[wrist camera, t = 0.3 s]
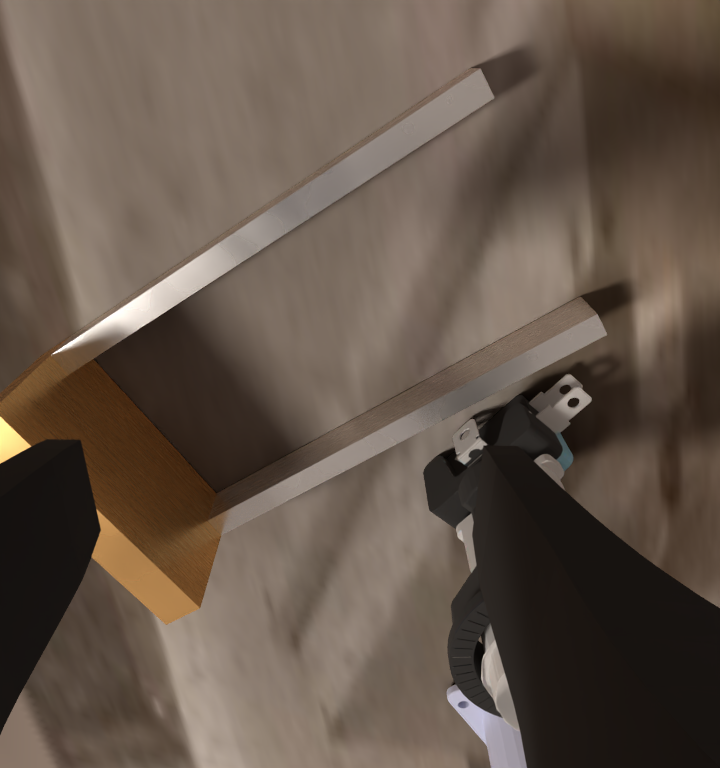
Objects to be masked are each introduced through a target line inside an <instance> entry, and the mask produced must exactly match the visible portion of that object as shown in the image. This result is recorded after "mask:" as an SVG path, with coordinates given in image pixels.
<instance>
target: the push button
mask: <svg viewBox="0 0 720 768" xmlns="http://www.w3.org/2000/svg"><path fill="white" fill-rule="evenodd" d="M563 385H569V386H570V387H571V390H570V391H569V392H568V393H567V394H561V393H560V392H559V390H560V388H561V387H562V386H563ZM582 387H583V385H582V384H581V383H580V382H579V381H578V380H576V379H575V378H574V377H573V376H572V375H571V374H566V375H565V376H564V377H563V378H562V379H561V380H559V381H558V382H557V383H556V384H555V385H554V386H553V387H551V388H550V389H549V390H548V391H547V392H546V393H545V394H544V393H543V392H540V393H539V394H538V395H537V396H536V397H534V398H533V399H532V400H531V401H530V402H529V401H528V400H527V399H526V398H525V397H523V396H522V395H518V396H516V397H515V398H514V399H513V400H511V401H510V402H509V403H508V404H507V405H506V406H505V407H504V408H503V409H502V410H500V411H499V412H498V413H497V414H496V415H495V416H494V417H493V418H492V419H490V420H489V421H488V422H487V423H486V424H485V425H484V426H483V427H482V428H480V429H478V426H477V423H476V420H475V419H470V420H469V421H468V422H467V423H465V424H464V425H463V426H462V427H461V428H460V429H459V430H458V431H457V432H456V433H455V434H454V436H453V438H452V439H453V443H454V447H455V452H454V453H453V454H452V455H451V456H449V457H448V458H447V459H445V458H444V457H442V456H437V457H435V458H434V459H433V460H432V461H431V462H430V463H429V464H428V465H427V466H426V467H425V469H424V473H423V474H424V480H425V487H426V493H427V499H428V506H429V510H430V511H431V512H432V513H434V514H435V515H436V516H438V517H439V518H441V519H442V520H444V521H445V522H446V523H448V524H449V525H451V526H452V527H454V528H455V529H456V531H457V535H458V538H459V539H460V540H462V541H463V542H464V544H465V549H466V553H467V558H468V562H469V567H470V571H471V574H470V576H469V577H468V579H467V580H466V582H465V583H464V585H463V586H462V588H461V589H460V591H459V592H458V594H457V595H456V597H455V598H454V600H453V601H452V604H451V611H452V622H453V625H452V628H451V630H450V634H449V638H448V658H449V665H450V670H451V674H452V677H453V679H454V682H455V683H456V685H457V687H458V688H459V690H460V691H461V692H462V693H463V695H464V696H465V697H466V698H467V699H468V700H469V701H471V702H472V703H473V704H475V705H476V706H477V707H479V708H481V709H482V710H484V711H486V712H488V713H490V714H493V715H495V716H498V717H501V718H503V719H504V721H505V722H506V723H507V724H509V725H511V726H512V727H513V728H514V729H515V730H517V731H520V729H519V724H518V720H517V716H516V712H515V708H514V704H513V700H512V697H511V693H510V690H509V686H508V683H507V679H506V676H505V672H504V669H503V665H502V662H501V658H500V655H499V651H498V648H497V645H496V641H495V638H494V634H493V631H492V627H491V624H490V620H489V617H488V613H487V609H486V606H485V602H484V599H483V595H482V591H481V588H480V584H479V577H478V571H477V565H476V559H475V552H474V545H473V538H472V531H473V524H474V516H475V508H476V500H477V492H478V484H479V476H480V469H481V461H482V453H483V445H490V446H518V447H519V448H520V449H522V450H523V451H524V452H525V453H526V454H527V455H528V456H529V457H530V458H531V459H532V460H533V461H534V462H535V463H536V464H537V465H538V466H539V467H541V468H542V469H543V470H544V471H545V472H546V473H547V474H548V475H549V476H550V477H551V478H552V479H553V480H554V481H555V482H556V483H557V484H558V485H559V486H560V487H561V488H563V489H564V487H563V485H562V483H561V481H560V479H561V478H562V477H563V476H564V471H565V470H566V469H567V468H568V467H569V466H570V465H571V464H572V462H573V455H572V453H571V451H570V449H569V448H568V446H567V444H566V442H565V441H564V439H563V437H562V435H561V432H562V431H563V430H564V429H565V428H567V427H568V426H569V425H570V424H571V423H570V422H569V420H570V419H571V418H572V417H574V416H575V415H576V414H577V413H578V412H580V411H581V410H582V409H583V408H584V407H585V406H587V405H588V404H589V403H590V402H591V400H592V398H591V397H590V396H589V395H588V394H587V393H586V392H584V391H583V390H582ZM571 398H578V399H579V404H578V405H577V406H576V407H569V406H568V405H567V403H568V401H569V400H570V399H571ZM467 430H470V432H469V435H468V436H467V437H466V438H465V439H464V440H461V437H462V435H463V433H464V432H465V431H467ZM564 490H565V489H564ZM480 636H481V638H482V643H483V644H481V643H480V642H479V641H478V639H479V637H480Z"/></svg>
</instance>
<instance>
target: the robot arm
mask: <svg viewBox="0 0 720 768" xmlns="http://www.w3.org/2000/svg"><path fill="white" fill-rule="evenodd" d="M100 531H101V528H100V523H99V519H98V514H97V510H96V505H95V501H94V497H93V492H92V488H91V483H90V479H89V474H88V470H87V465H86V461H85V457H84V452H83V448H82V443H81V440H65V439H46V440H44V441H42V442H40V443H37V444H35V445H33V446H31V447H29V448H27V449H26V450H24V451H22V452H20V453H18V454H16V455H15V456H13V457H11V458H9V459H8V460H6V461H4V462H2V463H1V464H0V734H1V732H2V730H3V727H4V725H5V723H6V721H7V718H8V717H9V715H10V713H11V711H12V709H13V707H14V705H15V703H16V701H17V699H18V697H19V695H20V693H21V691H22V690H23V688H24V686H25V684H26V682H27V680H28V679H29V677H30V675H31V673H32V671H33V670H34V668H35V666H36V664H37V662H38V660H39V659H40V657H41V655H42V653H43V651H44V650H45V648H46V646H47V644H48V642H49V641H50V639H51V637H52V635H53V633H54V631H55V630H56V628H57V626H58V624H59V622H60V621H61V619H62V617H63V615H64V613H65V611H66V609H67V608H68V606H69V604H70V602H71V600H72V598H73V597H74V595H75V593H76V591H77V589H78V587H79V585H80V583H81V581H82V579H83V577H84V574H85V572H86V569H87V567H88V564H89V562H90V559H91V556H92V554H93V551H94V548H95V545H96V542H97V540H98V537H99V534H100ZM472 538H473V545H474V552H475V559H476V565H477V571H478V577H479V584H480V588H481V591H482V595H483V599H484V602H485V606H486V609H487V613H488V617H489V620H490V624H491V627H492V631H493V634H494V638H495V641H496V645H497V648H498V651H499V655H500V658H501V662H502V665H503V669H504V672H505V676H506V679H507V683H508V686H509V690H510V693H511V697H512V700H513V704H514V708H515V712H516V716H517V720H518V724H519V729H520V731H517V730H515V729H514V728H513V727H512V726H511V725H509V724H507V723H506V722H505V721H504V719H503V718H501V717H498V716H495V715H493V714H490V713H488V712H486V711H484V710H482V709H481V708H479V707H477V706H476V705H475V704H473V703H472V702H471V701H469V700H468V699H467V698H466V697H465V696H464V695H463V693H462V692H461V691H460V690H459V688H458V687H457V685H453V686H451V687H450V688H449V689H448V690H447V699H448V701H449V702H450V704H451V705H452V706H453V707H454V708H455V709H456V711H457V712H458V713H459V714H460V715H461V716H462V717H463V719H464V720H465V721H466V722H467V723H468V724H469V726H470V727H471V728H472V729H473V730H474V731H475V732H476V734H477V735H478V736H479V737H480V738H481V739H482V741H483V742H484V743H485V744H486V745H487V748H488V753H489V759H490V764H491V768H720V608H718V607H717V606H715V605H714V604H712V603H710V602H709V601H707V600H706V599H704V598H702V597H701V596H699V595H698V594H696V593H695V592H693V591H692V590H690V589H689V588H687V587H686V586H684V585H683V584H681V583H680V582H679V581H677V580H676V579H674V578H673V577H671V576H670V575H668V574H667V573H665V572H664V571H662V570H661V569H660V568H658V567H657V566H655V565H654V564H653V563H651V562H650V561H649V560H647V559H646V558H644V557H643V556H642V555H640V554H639V553H638V552H636V551H635V550H634V549H633V548H631V547H630V546H629V545H628V544H626V543H625V542H624V541H623V540H621V539H620V538H619V537H618V536H616V535H615V534H614V533H613V532H611V531H610V530H609V529H608V528H607V527H605V526H604V525H603V524H602V523H601V522H599V521H598V520H597V519H596V518H595V517H594V516H592V515H591V514H590V513H589V512H588V511H587V510H586V509H584V508H583V507H582V506H581V505H580V504H579V503H578V502H577V501H576V500H574V499H573V498H572V497H571V496H570V495H569V494H568V493H567V492H566V491H565V490H564V489H563V488H561V487H560V486H559V485H558V484H557V483H556V482H555V481H554V480H553V479H552V478H551V477H550V476H549V475H548V474H547V473H546V472H545V471H544V470H543V469H542V468H541V467H539V466H538V465H537V464H536V463H535V462H534V461H533V460H532V459H531V458H530V457H529V456H528V455H527V454H526V453H525V452H524V451H523V450H522V449H520V448H519V447H518V446H490V445H483V453H482V461H481V469H480V476H479V484H478V492H477V500H476V508H475V516H474V524H473V531H472Z"/></svg>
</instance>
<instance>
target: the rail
mask: <svg viewBox="0 0 720 768" xmlns="http://www.w3.org/2000/svg"><path fill="white" fill-rule="evenodd" d="M492 99H494V96H493V94H492V92H491V89H490V87H489V85H488V83H487V81H486V79H485V77H484V75H483V73H482V71H481V68H470V69H468V70H467V71H465V72H464V73H462V74H461V75H459V76H458V77H456V78H455V79H453V80H452V81H450V82H449V83H447V84H446V85H444V86H443V87H441V88H440V89H438V90H437V91H435V92H434V93H432V94H431V95H429V96H428V97H426V98H425V99H423V100H422V101H420V102H419V103H417V104H416V105H414V106H413V107H411V108H410V109H408V110H407V111H405V112H404V113H402V114H401V115H399V116H398V117H396V118H395V119H393V120H392V121H390V122H389V123H388V124H386V125H385V126H383V127H382V128H380V129H379V130H377V131H376V132H374V133H373V134H371V135H370V136H368V137H367V138H365V139H364V140H362V141H361V142H359V143H358V144H356V145H355V146H353V147H352V148H350V149H349V150H347V151H346V152H344V153H343V154H341V155H340V156H338V157H337V158H335V159H334V160H332V161H331V162H329V163H328V164H326V165H325V166H323V167H322V168H320V169H319V170H317V171H316V172H314V173H313V174H311V175H310V176H308V177H307V178H305V179H304V180H302V181H301V182H300V183H298V184H297V185H295V186H294V187H292V188H291V189H289V190H288V191H286V192H285V193H283V194H282V195H280V196H279V197H277V198H276V199H274V200H273V201H271V202H270V203H268V204H267V205H265V206H264V207H262V208H261V209H259V210H258V211H256V212H255V213H253V214H252V215H250V216H249V217H247V218H246V219H244V220H243V221H241V222H240V223H238V224H237V225H235V226H234V227H232V228H231V229H229V230H228V231H226V232H225V233H223V234H222V235H220V236H219V237H217V238H216V239H214V240H213V241H211V242H210V243H209V244H207V245H206V246H204V247H203V248H201V249H200V250H198V251H197V252H195V253H194V254H192V255H191V256H189V257H188V258H186V259H185V260H183V261H182V262H180V263H179V264H177V265H176V266H174V267H173V268H171V269H170V270H168V271H167V272H165V273H164V274H162V275H161V276H159V277H158V278H156V279H155V280H153V281H152V282H150V283H149V284H147V285H146V286H144V287H143V288H141V289H140V290H138V291H137V292H135V293H134V294H132V295H131V296H129V297H128V298H126V299H125V300H123V301H122V302H120V303H119V304H118V305H116V306H115V307H113V308H112V309H110V310H109V311H107V312H106V313H104V314H103V315H101V316H100V317H98V318H97V319H95V320H94V321H92V322H91V323H89V324H88V325H86V326H85V327H83V328H82V329H80V330H79V331H77V332H76V333H74V334H73V335H71V336H70V337H68V338H67V339H65V340H64V341H62V342H61V343H59V344H58V345H56V346H55V347H53V348H52V349H50V350H49V351H47V352H46V353H44V354H43V355H41V356H40V357H39V358H38V359H37V360H36V361H35V362H34V363H33V364H32V365H31V366H30V367H28V368H27V369H26V370H25V371H24V372H23V373H22V374H21V375H20V376H19V377H18V378H16V379H15V380H14V381H13V382H12V383H11V384H10V385H9V386H8V387H7V388H6V389H4V390H3V391H2V392H1V393H0V464H1V463H2V462H4V461H6V460H8V459H9V458H11V457H13V456H15V455H16V454H18V453H20V452H22V451H24V450H26V449H27V448H29V447H31V446H33V445H35V444H37V443H40V442H42V441H44V440H46V439H65V440H81V443H82V448H83V452H84V457H85V461H86V465H87V470H88V474H89V479H90V483H91V488H92V492H93V497H94V501H95V505H96V510H97V514H98V519H99V523H100V528H101V531H100V534H99V537H98V540H97V542H96V545H95V548H94V551H93V554H92V556H91V557H92V558H93V559H94V560H96V561H97V562H98V563H99V564H100V565H101V566H102V567H103V568H104V569H105V570H107V571H108V572H109V573H110V574H111V575H112V576H113V577H114V578H115V579H116V580H118V581H119V582H120V583H121V584H122V585H123V586H124V587H125V588H126V589H127V590H129V591H130V592H131V593H132V594H133V595H134V596H135V597H136V598H137V599H138V600H140V601H141V602H142V603H143V604H144V605H145V606H146V607H147V608H148V609H149V610H151V611H152V612H153V613H154V614H155V615H156V616H157V617H158V618H159V619H160V620H161V621H163V622H164V623H165V624H166V625H167V624H169V623H171V622H173V621H175V620H177V619H179V618H181V617H183V616H185V615H187V614H189V613H191V612H193V611H195V610H197V609H199V608H200V607H201V603H202V600H203V596H204V593H205V589H206V586H207V583H208V579H209V576H210V572H211V569H212V565H213V562H214V558H215V555H216V552H217V548H218V545H219V541H220V538H221V535H223V534H225V533H227V532H229V531H231V530H232V529H234V528H236V527H238V526H240V525H242V524H244V523H246V522H248V521H250V520H252V519H254V518H256V517H257V516H259V515H261V514H263V513H265V512H267V511H269V510H271V509H273V508H275V507H277V506H279V505H281V504H282V503H284V502H286V501H288V500H290V499H292V498H294V497H296V496H298V495H300V494H302V493H304V492H306V491H307V490H309V489H311V488H313V487H315V486H317V485H319V484H321V483H323V482H325V481H327V480H329V479H331V478H332V477H334V476H336V475H338V474H340V473H342V472H344V471H346V470H348V469H350V468H352V467H354V466H356V465H357V464H359V463H361V462H363V461H365V460H367V459H369V458H371V457H373V456H375V455H377V454H379V453H381V452H383V451H384V450H386V449H388V448H390V447H392V446H394V445H396V444H398V443H400V442H402V441H404V440H406V439H408V438H409V437H411V436H413V435H415V434H417V433H419V432H421V431H423V430H425V429H427V428H429V427H431V426H433V425H434V424H436V423H438V422H440V421H442V420H444V419H446V418H448V417H450V416H452V415H454V414H456V413H458V412H459V411H461V410H463V409H465V408H467V407H469V406H471V405H473V404H475V403H477V402H479V401H481V400H483V399H484V398H486V397H488V396H490V395H492V394H494V393H496V392H498V391H500V390H502V389H504V388H506V387H508V386H509V385H511V384H513V383H515V382H517V381H519V380H521V379H523V378H525V377H527V376H529V375H531V374H533V373H534V372H536V371H538V370H540V369H542V368H544V367H546V366H548V365H550V364H552V363H554V362H556V361H558V360H559V359H561V358H563V357H565V356H567V355H569V354H571V353H573V352H575V351H577V350H579V349H581V348H583V347H584V346H586V345H588V344H590V343H592V342H594V341H596V340H598V339H600V338H602V337H604V336H606V335H607V333H606V331H605V329H604V327H603V325H602V323H601V320H600V318H599V316H598V314H597V313H596V312H595V311H594V310H593V309H592V308H591V307H590V306H589V305H588V304H587V303H586V302H585V301H584V299H583V298H582V297H581V296H580V297H578V298H576V299H574V300H573V301H571V302H569V303H567V304H565V305H563V306H561V307H560V308H558V309H556V310H554V311H552V312H550V313H549V314H547V315H545V316H543V317H541V318H539V319H538V320H536V321H534V322H532V323H530V324H528V325H526V326H525V327H523V328H521V329H519V330H517V331H515V332H514V333H512V334H510V335H508V336H506V337H504V338H502V339H501V340H499V341H497V342H495V343H493V344H491V345H490V346H488V347H486V348H484V349H482V350H480V351H478V352H477V353H475V354H473V355H471V356H469V357H467V358H466V359H464V360H462V361H460V362H458V363H456V364H455V365H453V366H451V367H449V368H447V369H445V370H443V371H442V372H440V373H438V374H436V375H434V376H432V377H431V378H429V379H427V380H425V381H423V382H421V383H419V384H418V385H416V386H414V387H412V388H410V389H408V390H407V391H405V392H403V393H401V394H399V395H397V396H395V397H394V398H392V399H390V400H388V401H386V402H384V403H383V404H381V405H379V406H377V407H375V408H373V409H372V410H370V411H368V412H366V413H364V414H362V415H360V416H359V417H357V418H355V419H353V420H351V421H349V422H348V423H346V424H344V425H342V426H340V427H338V428H336V429H335V430H333V431H331V432H329V433H327V434H325V435H324V436H322V437H320V438H318V439H316V440H314V441H312V442H311V443H309V444H307V445H305V446H303V447H301V448H300V449H298V450H296V451H294V452H292V453H290V454H289V455H287V456H285V457H283V458H281V459H279V460H277V461H276V462H274V463H272V464H270V465H268V466H266V467H265V468H263V469H261V470H259V471H257V472H255V473H253V474H252V475H250V476H248V477H246V478H244V479H242V480H241V481H239V482H237V483H235V484H233V485H231V486H229V487H228V488H226V489H224V490H222V491H220V492H218V493H216V492H215V491H214V490H213V489H212V488H211V487H210V486H209V485H208V484H207V483H206V481H205V480H204V479H203V478H202V477H201V476H200V475H199V474H198V473H197V472H196V471H195V469H194V468H193V467H192V466H191V465H190V464H189V463H188V462H187V461H186V460H185V459H184V457H183V456H182V455H181V454H180V453H179V452H178V451H177V450H176V449H175V448H174V447H173V445H172V444H171V443H170V442H169V441H168V440H167V439H166V438H165V437H164V436H163V435H162V433H161V432H160V431H159V430H158V429H157V428H156V427H155V426H154V425H153V424H152V422H151V421H150V420H149V419H148V418H147V417H146V416H145V415H144V414H143V413H142V412H141V410H140V409H139V408H138V407H137V406H136V405H135V404H134V403H133V402H132V401H131V400H130V398H129V397H128V396H127V395H126V394H125V393H124V392H123V391H122V390H121V389H120V388H119V386H118V385H117V384H116V383H115V382H114V381H113V380H112V379H111V378H110V377H109V376H108V374H107V373H106V372H105V371H104V370H103V369H102V368H101V367H100V366H99V365H98V364H97V362H96V361H95V360H94V358H95V357H97V356H98V355H100V354H101V353H103V352H105V351H106V350H108V349H109V348H111V347H112V346H114V345H115V344H117V343H118V342H120V341H121V340H123V339H125V338H126V337H128V336H129V335H131V334H132V333H134V332H135V331H137V330H138V329H140V328H141V327H143V326H145V325H146V324H148V323H149V322H151V321H152V320H154V319H155V318H157V317H158V316H160V315H161V314H163V313H165V312H166V311H168V310H169V309H171V308H172V307H174V306H175V305H177V304H178V303H180V302H181V301H183V300H185V299H186V298H188V297H189V296H191V295H192V294H194V293H195V292H197V291H198V290H200V289H201V288H203V287H205V286H206V285H208V284H209V283H211V282H212V281H214V280H215V279H217V278H218V277H220V276H221V275H223V274H225V273H226V272H228V271H229V270H231V269H232V268H234V267H235V266H237V265H238V264H240V263H241V262H243V261H245V260H246V259H248V258H249V257H251V256H252V255H254V254H255V253H257V252H258V251H260V250H261V249H263V248H265V247H266V246H268V245H269V244H271V243H272V242H274V241H275V240H277V239H278V238H280V237H281V236H283V235H285V234H286V233H288V232H289V231H291V230H292V229H294V228H295V227H297V226H298V225H300V224H301V223H303V222H305V221H306V220H308V219H309V218H311V217H312V216H314V215H315V214H317V213H318V212H320V211H321V210H323V209H325V208H326V207H328V206H329V205H331V204H332V203H334V202H335V201H337V200H338V199H340V198H341V197H343V196H345V195H346V194H348V193H349V192H351V191H352V190H354V189H355V188H357V187H358V186H360V185H361V184H363V183H365V182H366V181H368V180H369V179H371V178H372V177H374V176H375V175H377V174H378V173H380V172H381V171H383V170H385V169H386V168H388V167H389V166H391V165H392V164H394V163H395V162H397V161H398V160H400V159H401V158H403V157H405V156H406V155H408V154H409V153H411V152H412V151H414V150H415V149H417V148H418V147H420V146H421V145H423V144H425V143H426V142H428V141H429V140H431V139H432V138H434V137H435V136H437V135H438V134H440V133H441V132H443V131H445V130H446V129H448V128H449V127H451V126H452V125H454V124H455V123H457V122H458V121H460V120H461V119H463V118H465V117H466V116H468V115H469V114H471V113H472V112H474V111H475V110H477V109H478V108H480V107H481V106H483V105H485V104H486V103H488V102H489V101H491V100H492Z"/></svg>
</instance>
